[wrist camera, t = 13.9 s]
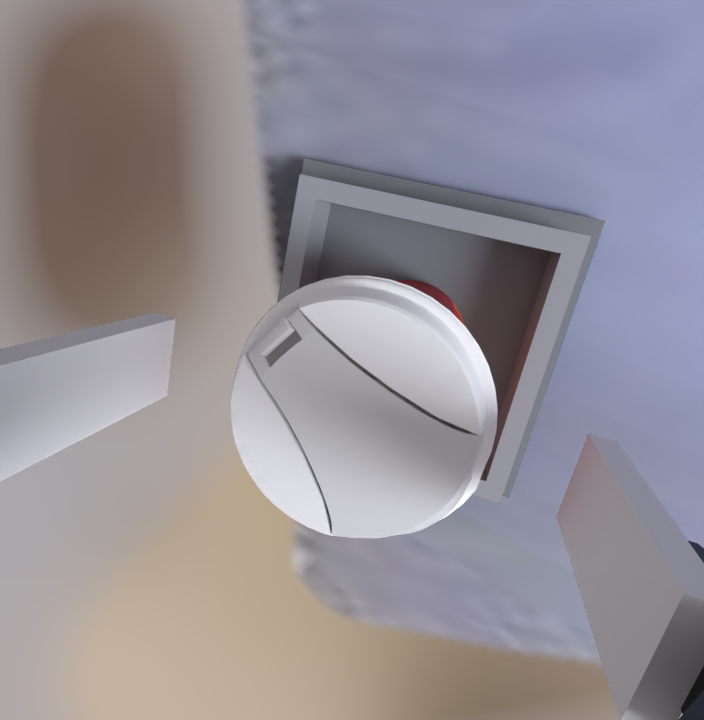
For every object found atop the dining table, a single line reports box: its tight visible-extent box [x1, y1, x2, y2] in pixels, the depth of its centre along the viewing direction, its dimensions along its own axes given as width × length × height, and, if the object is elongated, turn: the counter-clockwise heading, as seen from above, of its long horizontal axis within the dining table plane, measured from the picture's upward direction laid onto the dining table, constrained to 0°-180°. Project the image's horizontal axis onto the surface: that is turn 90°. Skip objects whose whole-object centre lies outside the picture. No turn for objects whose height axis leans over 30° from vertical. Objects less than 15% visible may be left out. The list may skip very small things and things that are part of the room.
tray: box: [278, 158, 605, 504], centre depth 27 cm, size 16×16×4 cm
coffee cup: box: [231, 276, 498, 538], centre depth 21 cm, size 8×8×15 cm
